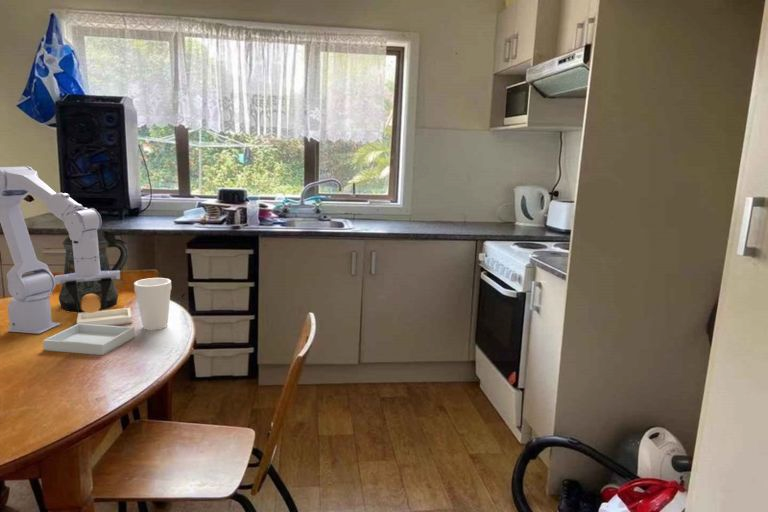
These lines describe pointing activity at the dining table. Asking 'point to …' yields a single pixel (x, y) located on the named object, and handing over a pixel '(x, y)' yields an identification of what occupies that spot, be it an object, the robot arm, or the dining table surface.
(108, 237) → the beer stein
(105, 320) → the dish
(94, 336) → the tray
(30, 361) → the dining table surface
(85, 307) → the ball
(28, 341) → the dining table surface
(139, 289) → the foam cup
